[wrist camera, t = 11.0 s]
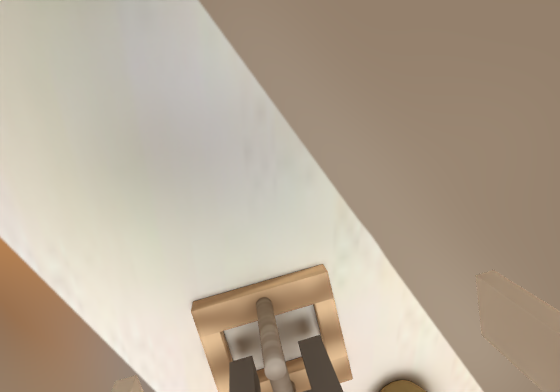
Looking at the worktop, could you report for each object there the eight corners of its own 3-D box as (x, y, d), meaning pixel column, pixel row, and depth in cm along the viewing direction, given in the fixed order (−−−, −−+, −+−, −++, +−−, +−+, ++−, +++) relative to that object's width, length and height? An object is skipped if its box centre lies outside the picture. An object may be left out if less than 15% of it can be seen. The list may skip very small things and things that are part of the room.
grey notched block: (237, 388, 36) (239, 463, 28) (229, 362, 35) (229, 431, 27) (326, 360, 37) (352, 426, 29) (319, 334, 36) (344, 394, 28)
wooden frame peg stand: (193, 301, 38) (176, 382, 26) (322, 264, 39) (361, 326, 27) (227, 404, 41) (226, 517, 29) (347, 367, 42) (391, 462, 30)
